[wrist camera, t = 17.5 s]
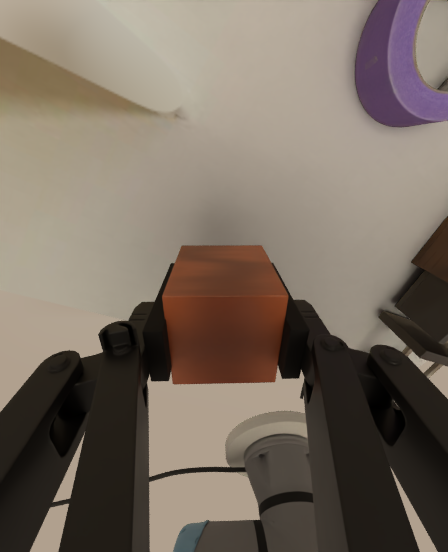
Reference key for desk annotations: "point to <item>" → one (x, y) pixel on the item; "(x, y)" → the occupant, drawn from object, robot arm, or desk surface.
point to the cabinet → (435, 253)
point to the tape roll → (396, 68)
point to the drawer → (423, 320)
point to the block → (224, 315)
